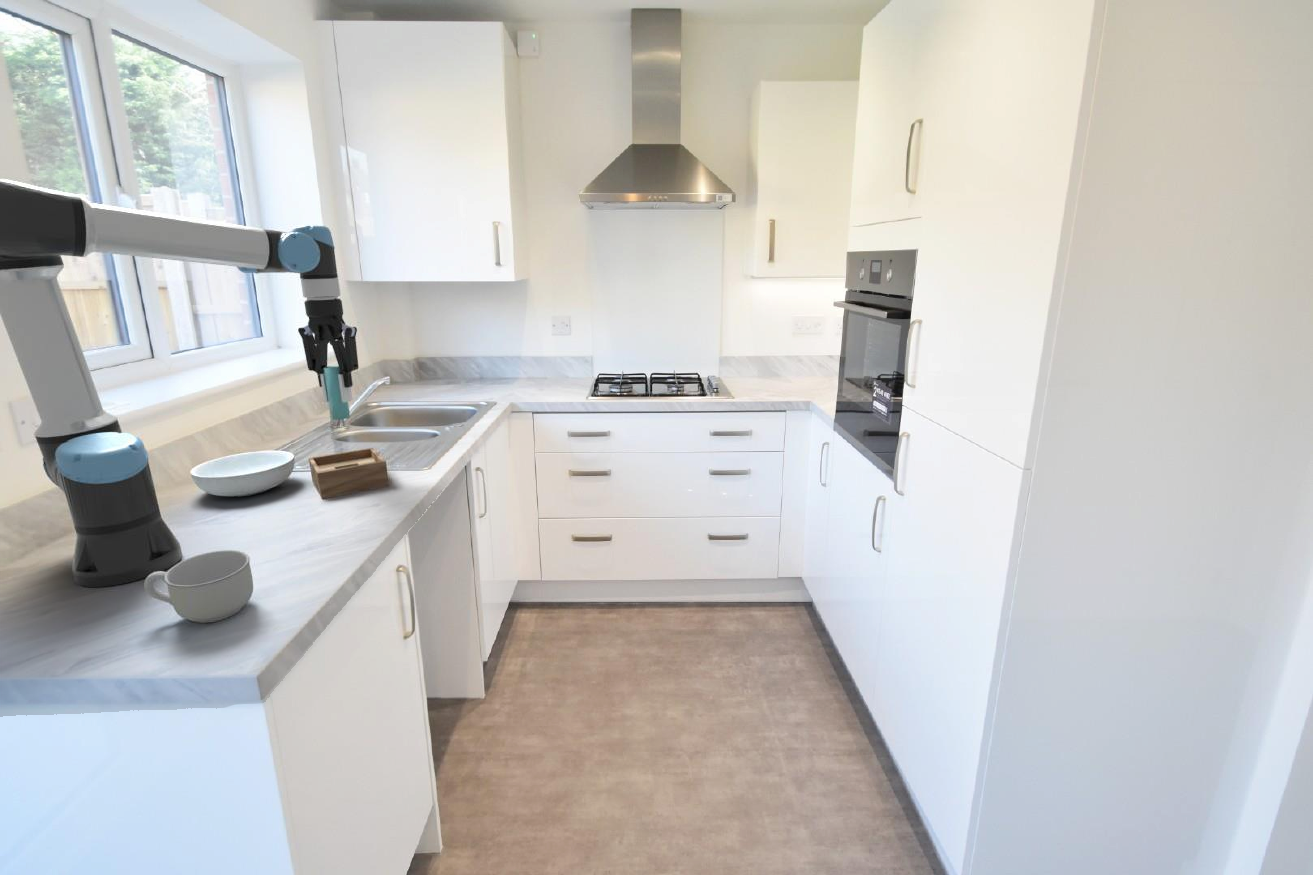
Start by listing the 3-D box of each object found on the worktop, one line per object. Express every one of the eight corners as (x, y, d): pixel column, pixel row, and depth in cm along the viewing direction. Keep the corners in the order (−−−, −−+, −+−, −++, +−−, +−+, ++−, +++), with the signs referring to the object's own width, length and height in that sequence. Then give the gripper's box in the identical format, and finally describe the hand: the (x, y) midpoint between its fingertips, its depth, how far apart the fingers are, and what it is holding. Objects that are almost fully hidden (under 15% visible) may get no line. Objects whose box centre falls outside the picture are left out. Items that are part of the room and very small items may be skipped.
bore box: (389, 485, 156) (386, 461, 155) (321, 498, 148) (317, 473, 147) (375, 470, 168) (372, 447, 166) (312, 481, 160) (308, 458, 158)
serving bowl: (294, 470, 169) (290, 445, 167) (302, 494, 152) (297, 465, 150) (197, 486, 158) (191, 459, 156) (194, 513, 141) (187, 483, 139)
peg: (343, 420, 151) (335, 368, 148) (327, 419, 152) (319, 368, 149) (353, 415, 155) (346, 365, 152) (338, 415, 156) (331, 365, 153)
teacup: (271, 593, 106) (263, 548, 104) (232, 630, 96) (221, 581, 93) (184, 596, 106) (173, 551, 103) (134, 634, 95) (121, 584, 93)
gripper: (367, 297, 148) (380, 398, 155) (301, 297, 151) (317, 396, 158) (345, 299, 141) (361, 405, 147) (277, 299, 144) (295, 403, 151)
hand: (338, 400), depth 153 cm, fingers closed on peg, 4 cm apart
